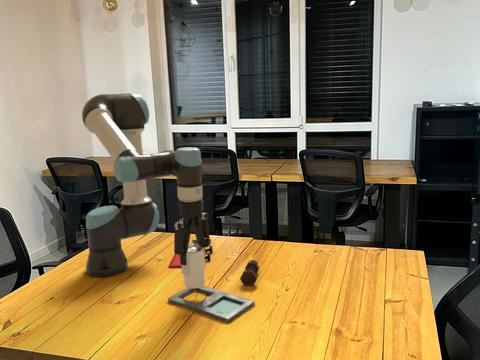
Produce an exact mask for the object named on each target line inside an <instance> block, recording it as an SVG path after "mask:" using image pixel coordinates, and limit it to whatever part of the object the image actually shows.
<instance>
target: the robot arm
mask: <svg viewBox="0 0 480 360" xmlns="http://www.w3.org/2000/svg"><path fill="white" fill-rule="evenodd" d="M149 118H150V110H149V105H148V103H147V101H146V100H145V97H143V95H141V94H138V93H130V92H129V93H127V92H126V93H113V94H112V93H108V94H97V95H95V96H92V97H91V98H89V99H88V100H87V102H86V103H85V105H84V106H83V109H82V112H81V119H82V123H83V125H84V126H85V128H86V129H87V130H88V131H89V132H90V133H92V134H94V135H95V136H96V138H97V139H98V141H99V142H100V143H101V145H102V146H103V147H104V149H105V150H106V151H107V153H108V154H109V156H110V157H111V158H112V160H113V161H114V162H113V173H114V175H115V179H116V180H117V181H118V182H119V183H122V186H123V187H122V189H123V197H124V198H123V199H122V200H121V202H120V208H118V206H116V205H104V206H100V207H97V208H94V209H92V210H90V211H89V212H88V213H87V214H86V216H85V228H86V233H87V244H88V256H87V260H86V265H85V272H86V274H87V276H90V277H92V278H93V277H95V278H107V277H112V276H115V275H119V274H122V273H123V272H125V271H127V269H128V268H129V263H128V262H129V261H128V258H127V257H126V255H125V252H124V250H123V247H122V240H125V239H130V238H135V237H138V236H139V237H140V236H145V235H147V234H151V233H153V232H155V231H156V230H157V228H158V227H159V222H160V211H159V209H158V205H156V203H155V202H153V201H152V198H151V197H150V196H148V191H147V181H146V180H151V179H158V178H164V177H169V176H170V177H171V176H172V177H176V187H177V199H178V201H177V206H178V208H177V209H178V212H179V214H180V217H179V221H177V222H173V223H172V226H173V227H172V228H173V229H174V234H173V236H174V239H173V240H174V241H173V249H174V250H173V253H174V254H177V255H180V264H181V265H182V268H181V274H183V275H184V274H185V275H190V261H189V254H187V251H188V246H189V245H190V239H191V235H192V233H193V232H194V235H195V240H197V242H198V245H199V246H200V247H201V248H202V251H203V253H204V268H206V260H205V256H206V255H207V252H206V251H205V249H206V248H208V247H209V245H208V244H207V243H210V238H211V237H210V228H209V226H210V225H209V217H210V215H209V213H207V212H203V211H204V200H203V168H202V166H203V165H202V162H203V161H202V154H201V153H202V151H201V149H200V148H198V147H189V146H187V147H185V146H184V147H179V148H177V149H175V150H173V149H172V150H171V149H170V150H162V151H161V152H157V153H146V154H144V152H143V151H144V150H143V149H144V148H143V141H142V133H143V131H145V125H146V124H148V122H149V120H150V119H149ZM210 244H211V243H210ZM183 250H184V251H183Z"/></svg>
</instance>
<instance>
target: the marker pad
mask: <svg viewBox="0 0 480 360" xmlns="http://www.w3.org/2000/svg"><path fill="white" fill-rule="evenodd" d="M239 306H241V304H238V303H235V302H231V301H228V300H225V299H223V300H222V301H220V302H218V303H217V304H215V305H214V306H212V307H210V308H212V309H215V310H218V311H221V312H224V313H227V314H229V313H230V312H232V311H233V310H235V309H236V308H238V307H239Z"/></svg>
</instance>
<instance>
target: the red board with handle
mask: <svg viewBox="0 0 480 360" xmlns="http://www.w3.org/2000/svg"><path fill="white" fill-rule="evenodd" d="M211 242H212V239H210V243H207V244H208V246H209V245H210V246H209V248H205V251H206V255H205V261H206V260H207V262H210V261H211V254H213V252H214V251H213V246H212V245H211ZM189 246H199V245H198V242H197V239H192V240H191V242H189ZM189 246H188V247H189ZM183 251H184V250H183ZM208 252H209V253H208ZM167 268H168V269H179V268H180V269H182V265H181V264H180V255H177V254H175V253H174V254H173V256H172V258H171V260H170V263H169V264H168V267H167Z"/></svg>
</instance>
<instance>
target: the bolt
mask: <svg viewBox="0 0 480 360" xmlns="http://www.w3.org/2000/svg"><path fill="white" fill-rule="evenodd" d="M244 269H245V270H244ZM244 269H243V272H242V273H241V275H240V277H239V279H240V282H241V283H242V285H243V286H245V287H253V286H255V284H256V281H257V280H258V277H257V275H256V274H257V273H258V271H259V270H260V266H259V264H258V262H257V261H256V260H252V259H251V260H250V261H248V262H247V264H246V266H245V268H244Z"/></svg>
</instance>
